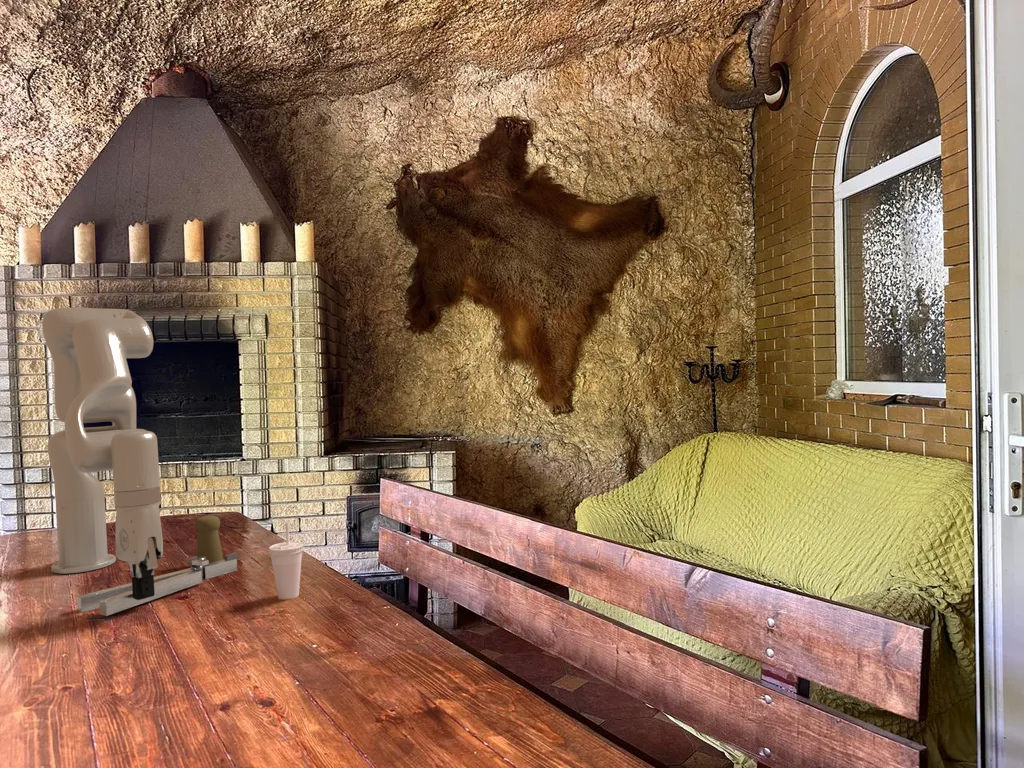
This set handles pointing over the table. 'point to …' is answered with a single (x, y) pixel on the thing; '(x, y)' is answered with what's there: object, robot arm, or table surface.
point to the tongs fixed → (208, 571)
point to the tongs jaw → (155, 589)
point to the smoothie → (287, 566)
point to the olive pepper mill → (208, 538)
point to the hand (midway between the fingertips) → (143, 597)
